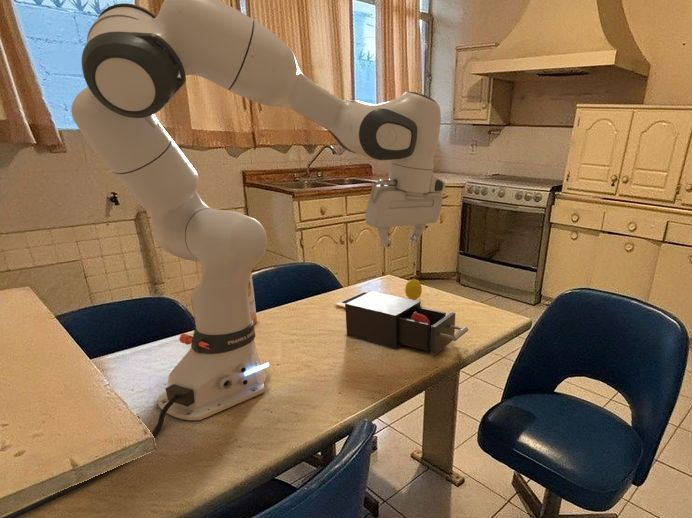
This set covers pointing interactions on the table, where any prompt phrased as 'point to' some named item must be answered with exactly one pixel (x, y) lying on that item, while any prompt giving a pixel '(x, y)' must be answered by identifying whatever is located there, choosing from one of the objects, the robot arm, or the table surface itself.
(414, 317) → the onion
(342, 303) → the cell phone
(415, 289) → the lemon
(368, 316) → the cabinet
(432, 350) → the drawer
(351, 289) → the table surface
